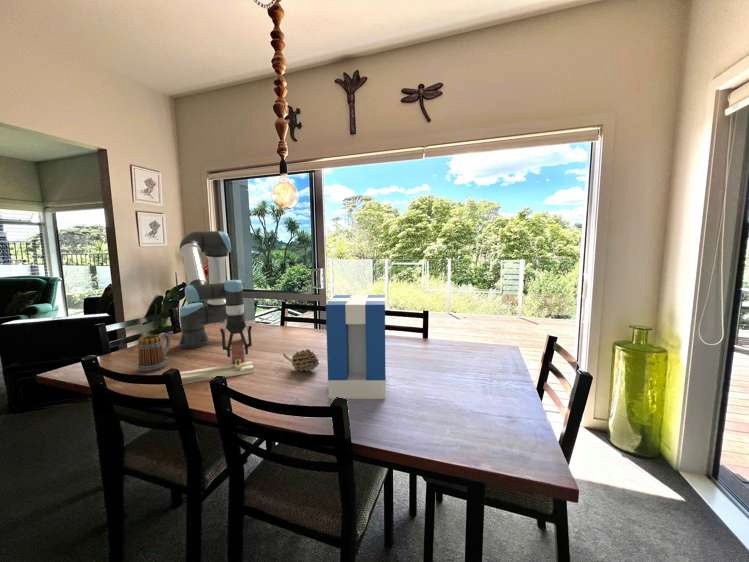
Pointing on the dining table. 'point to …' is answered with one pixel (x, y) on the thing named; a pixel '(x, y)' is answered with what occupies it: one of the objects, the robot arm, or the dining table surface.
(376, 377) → the toy block
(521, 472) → the dining table surface
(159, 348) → the mug
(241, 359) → the block
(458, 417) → the dining table surface
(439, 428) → the dining table surface
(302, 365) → the pine cone
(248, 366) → the board
